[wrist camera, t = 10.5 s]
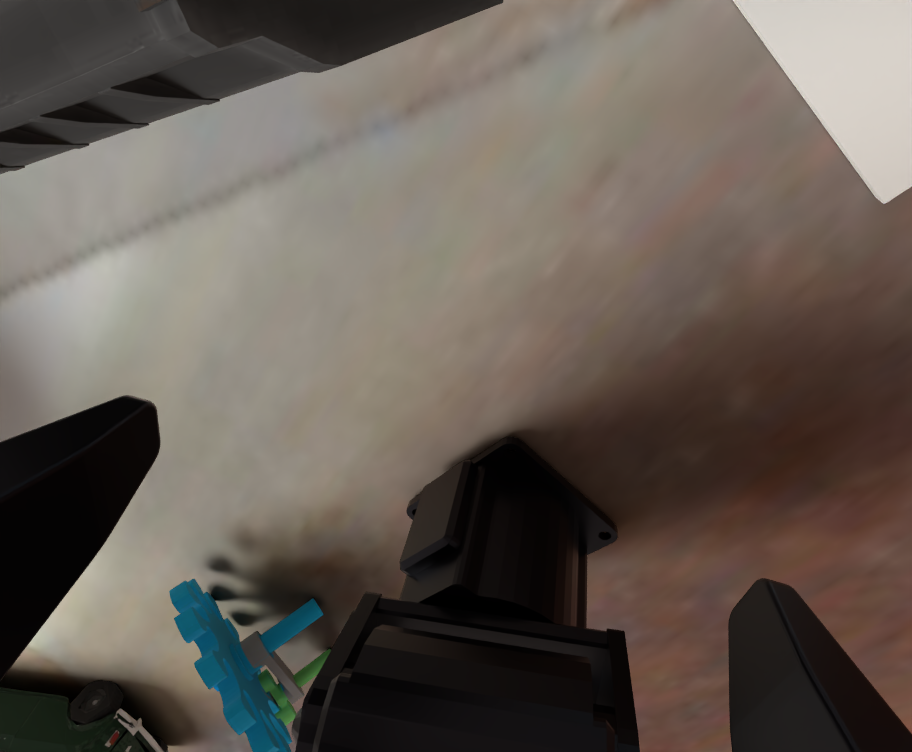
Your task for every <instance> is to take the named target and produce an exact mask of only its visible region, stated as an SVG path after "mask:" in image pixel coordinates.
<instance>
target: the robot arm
mask: <svg viewBox="0 0 912 752" xmlns="http://www.w3.org/2000/svg"><path fill="white" fill-rule="evenodd" d="M509 448H510V449H514V450H516V451H515V452H510V451H508V450H507V449H509ZM159 449H160V433H159V424H158V415H157V409H156V406H155V405H154V403H152V402H151V401H148V400H144V399H141V398H137V397H134V396H129V395H126V396H121V397H118V398H115V399H113V400H110V401H107V402H105V403H102V404H100V405H97V406H94V407H92V408H89V409H86V410H84V411H81V412H79V413H76V414H73V415H71V416H68V417H65V418H63V419H60V420H57V421H55V422H52V423H50V424H47V425H44V426H42V427H39V428H36V429H34V430H31V431H28V432H26V433H23V434H21V435H18V436H15V437H13V438H10V439H7V440H5V441H2V442H0V681H1V679H2V678H3V677H4V675H5V674H6V673H7V671H8V670H9V669H10V668H11V666H12V665H13V664H14V662H15V661H16V660H17V658H18V657H19V656H20V654H21V653H22V652H23V650H24V649H25V648H26V647H27V645H28V644H29V643H30V641H31V640H32V639H33V637H34V636H35V635H36V633H37V632H38V631H39V629H40V628H41V627H42V626H43V624H44V623H45V622H46V620H47V619H48V618H49V616H50V615H51V614H52V612H53V611H54V610H55V608H56V607H57V606H58V605H59V603H60V602H61V601H62V599H63V598H64V597H65V595H66V594H67V593H68V591H69V590H70V589H71V587H72V586H73V585H74V584H75V582H76V581H77V580H78V578H79V577H80V576H81V574H82V573H83V572H84V570H85V569H86V568H87V566H88V565H89V564H90V563H91V561H92V560H93V559H94V557H95V556H96V554H97V553H98V552H99V550H100V549H101V547H102V546H103V545H104V543H105V542H106V540H107V538H108V537H109V535H110V534H111V532H112V531H113V529H114V527H115V526H116V524H117V522H118V521H119V519H120V517H121V516H122V514H123V512H124V511H125V509H126V507H127V506H128V504H129V503H130V501H131V499H132V498H133V496H134V494H135V493H136V491H137V489H138V488H139V486H140V484H141V483H142V481H143V479H144V478H145V476H146V474H147V473H148V471H149V469H150V468H151V466H152V464H153V463H154V461H155V459H156V458H157V455H158V453H159ZM407 515H408V516H409V517H410V518H411V519H412V520H413V522H412V525H411V528H410V531H409V534H408V538H407V541H406V544H405V547H404V550H403V553H402V556H401V559H400V570H401V571H403V572H404V573H405V574H407V576H406V579H405V583H404V586H403V589H402V593H401V596H400V599H399V600H398V599H392V598H385V597H382V594H377V593H370V592H366V593H365V594H364V596H363V598H362V599H361V601H360V603H359V605H358V607H357V608H356V610H355V611H353V612H352V614H351V615H350V617H349V619H348V621H347V623H346V624H345V626H344V628H343V630H342V632H341V633H340V635H339V637H338V639H337V641H336V642H335V644H334V646H333V648H332V650H331V651H330V653H329V655H328V657H327V659H326V660H325V662H324V664H323V666H322V668H321V669H320V671H319V673H318V675H317V677H316V678H315V680H314V682H313V684H312V686H311V687H310V689H309V691H308V693H307V695H306V697H305V699H304V702H303V706H302V708H301V709H300V710H299V712H298V713H297V714H296V716H295V718H294V721H293V725H292V736H293V738H294V740H295V743H296V751H295V752H640V749H639V738H638V729H637V722H636V714H635V707H634V699H633V692H632V684H631V677H630V669H629V662H628V654H627V647H626V639H625V632H624V631H620V630H614V629H607V631H601V630H595V629H588V628H586V611H587V555H588V554H590V553H592V552H595V551H597V550H599V549H601V548H603V547H605V546H607V545H609V544H611V543H613V542H614V541H616V539H617V526H616V525H615V523H614V522H612V521H611V520H610V519H609V518H608V517H607V516H606V515H605V514H603V513H602V512H601V511H600V510H599V509H598V508H597V507H596V506H594V505H593V504H592V503H591V502H590V501H589V500H588V499H587V498H585V497H584V496H583V495H582V494H581V493H580V492H579V491H578V490H576V489H575V488H574V487H573V486H572V485H571V484H570V483H569V482H567V481H566V480H565V479H564V478H563V477H562V476H561V475H560V474H558V473H557V472H556V471H555V470H554V469H553V468H552V467H551V466H549V465H548V464H547V463H546V462H545V461H544V460H543V459H542V458H541V457H539V456H538V455H537V454H536V453H535V452H534V451H533V450H532V449H530V448H529V447H528V446H527V445H526V444H525V443H524V442H523V441H521V440H520V439H518V438H515V437H506V438H504V439H502V440H500V441H499V442H497V443H496V444H494V445H493V446H491V447H490V448H488V449H487V450H485V451H484V452H482V453H481V454H479V455H478V456H476V457H475V458H473V459H472V460H467V461H462V462H461V463H459V464H458V465H456V466H455V467H453V468H452V469H450V470H449V471H447V472H446V473H444V474H443V475H441V476H440V477H438V478H437V479H435V480H434V481H432V482H431V483H429V484H428V485H426V486H425V487H424V488H423V491H422V493H421V494H419V495H418V496H416V497H415V498H413V499H412V500H411V501H410V502H409V504H408V507H407ZM603 531H605V532H606V533H604V532H603ZM728 629H729V708H730V733H731V744H732V752H912V734H911V732H910V731H909V730H908V729H907V728H906V726H905V725H904V724H903V723H902V721H901V720H900V719H899V718H898V716H897V715H896V714H895V713H894V712H893V710H892V709H891V708H890V707H889V705H888V704H887V703H886V702H885V700H884V699H883V698H882V697H881V695H880V694H879V693H878V692H877V691H876V689H875V688H874V687H873V686H872V684H871V683H870V682H869V681H868V679H867V678H866V677H865V676H864V674H863V673H862V672H861V671H860V670H859V668H858V667H857V666H856V665H855V663H854V662H853V661H852V660H851V658H850V657H849V656H848V655H847V653H846V652H845V651H844V650H843V649H842V647H841V646H840V645H839V644H838V642H837V641H836V640H835V639H834V637H833V636H832V635H831V634H830V632H829V631H828V630H827V629H826V628H825V626H824V625H823V624H822V623H821V621H820V620H819V619H818V618H817V616H816V615H815V614H814V613H813V612H812V610H811V609H810V608H809V607H808V605H807V604H806V603H805V602H804V600H803V599H802V598H801V597H800V595H799V594H798V593H797V592H796V591H795V590H794V589H793V588H792V587H791V586H789V585H787V584H783V583H780V582H776V581H773V580H769V579H766V578H762V579H759V580H757V581H756V582H755V583H754V584H753V585H752V586H751V588H750V589H749V590H748V591H747V592H746V594H745V595H744V596H743V597H742V599H741V600H740V601H739V602H738V603H737V605H736V606H735V607H734V609H733V610H732V612H731V615H730V618H729V627H728Z"/></svg>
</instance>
